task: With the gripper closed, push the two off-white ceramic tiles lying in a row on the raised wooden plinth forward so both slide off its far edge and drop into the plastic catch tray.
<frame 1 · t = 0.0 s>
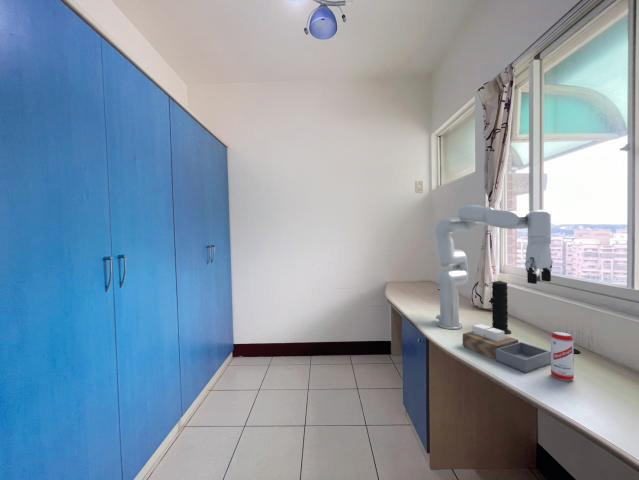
hand: (539, 282, 117), 31 cm above the table, fingers open, 9 cm apart
tile rear: (482, 334, 129), point 6 cm above the table, touching wooden plinth
wooden plinth: (489, 349, 126), on the table
beer can: (562, 378, 102), on the table
tile front: (495, 338, 124), point 6 cm above the table, touching wooden plinth
catch tray: (523, 362, 114), on the table
handle grip: (500, 331, 149), on the table
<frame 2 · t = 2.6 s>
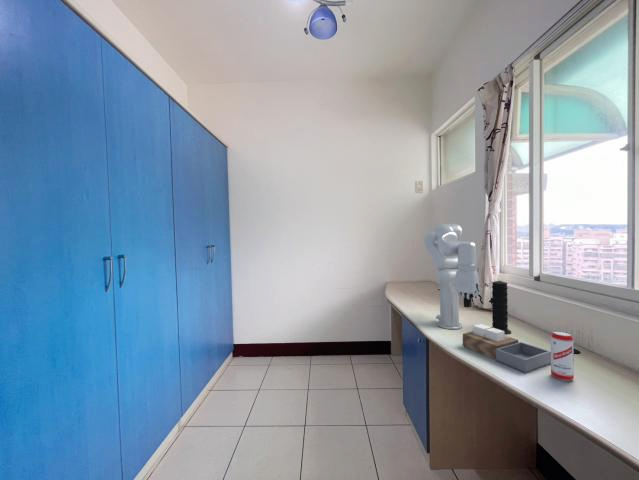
hand: (467, 306, 136), 17 cm above the table, fingers closed
nothing on the table moved.
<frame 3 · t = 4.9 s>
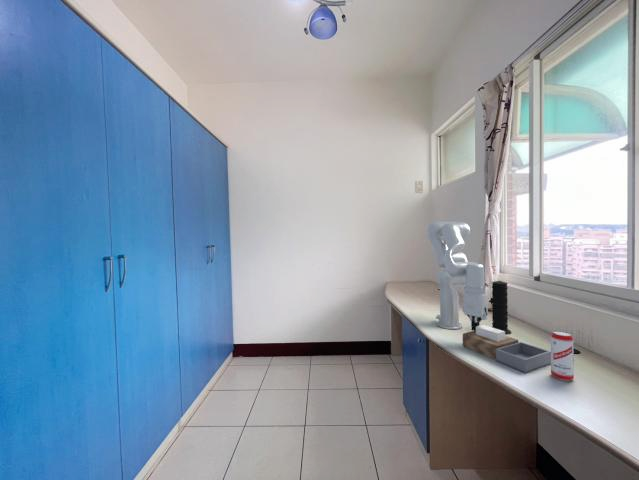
hand: (475, 329, 132), 7 cm above the table, fingers closed
tile rear: (484, 334, 128), point 6 cm above the table, touching wooden plinth, gripper
everything else where it was.
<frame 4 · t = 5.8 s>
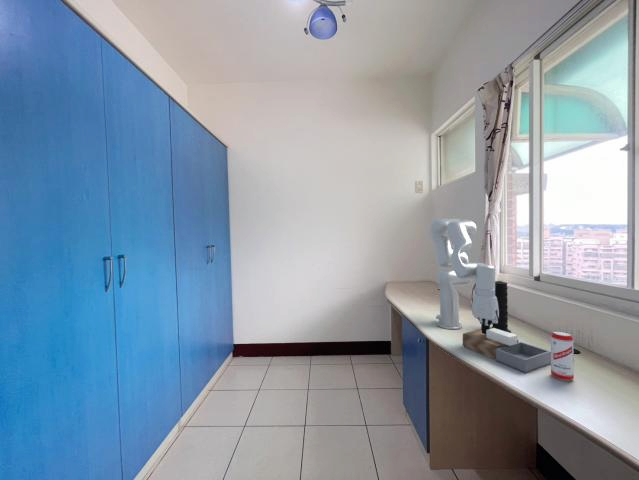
hand: (485, 333, 128), 7 cm above the table, fingers closed
tile rear: (495, 338, 124), point 6 cm above the table, touching gripper, tile front
tile front: (507, 342, 119), point 6 cm above the table, touching tile rear
everything else where it was.
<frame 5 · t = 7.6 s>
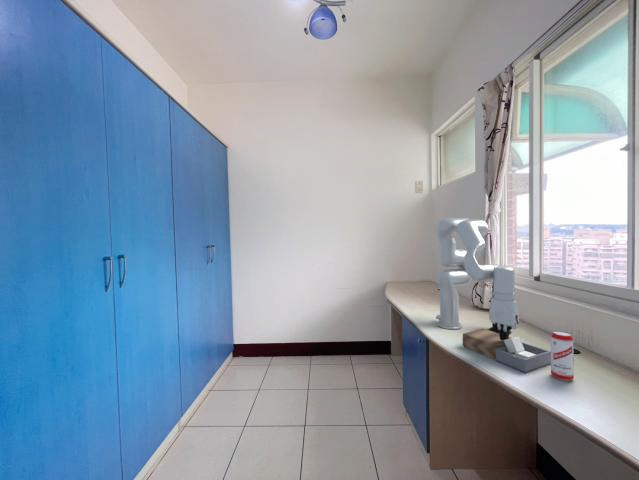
hand: (504, 339, 120), 7 cm above the table, fingers closed
tile rear: (510, 345, 118), point 5 cm above the table, tilted 65°, touching gripper, tile front
tile front: (525, 353, 113), point 4 cm above the table, tilted 180°, touching catch tray, tile rear
everything else where it was.
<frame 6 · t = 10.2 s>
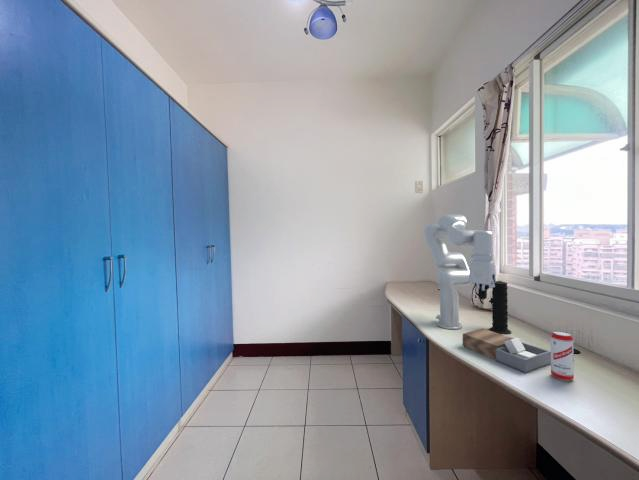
hand: (482, 298, 129), 22 cm above the table, fingers closed
tile rear: (510, 346, 118), point 5 cm above the table, tilted 56°, touching catch tray, tile front
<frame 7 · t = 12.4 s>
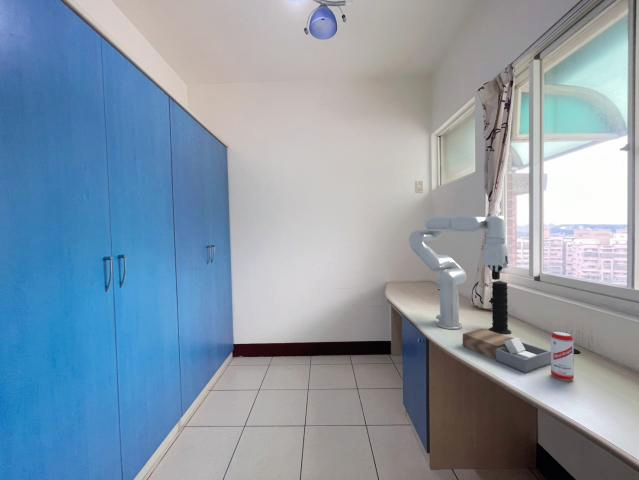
hand: (495, 279, 138), 29 cm above the table, fingers closed
nothing on the table moved.
at the end: tile rear inside the target area on the catch tray (4.8 cm from its centre), point 4.6 cm above the catch tray's base; tile front inside the target area on the catch tray (1.4 cm from its centre), point 4.1 cm above the catch tray's base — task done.
